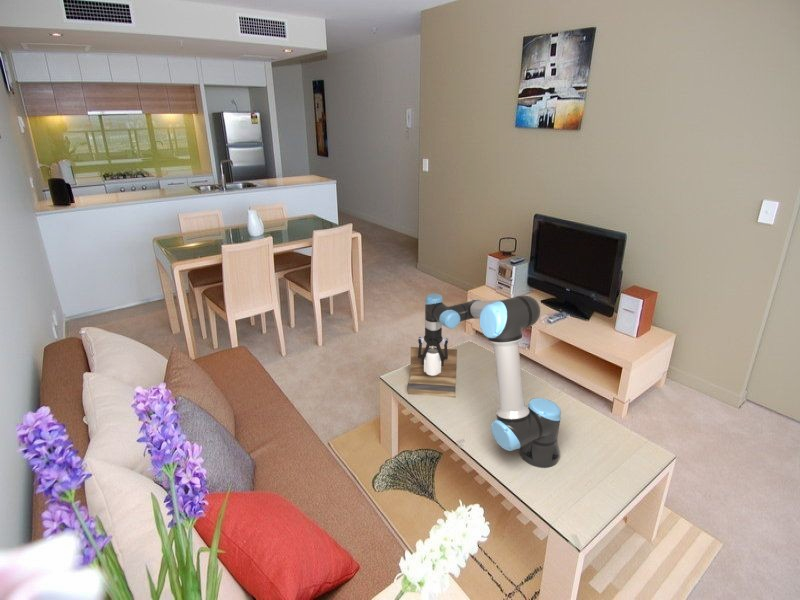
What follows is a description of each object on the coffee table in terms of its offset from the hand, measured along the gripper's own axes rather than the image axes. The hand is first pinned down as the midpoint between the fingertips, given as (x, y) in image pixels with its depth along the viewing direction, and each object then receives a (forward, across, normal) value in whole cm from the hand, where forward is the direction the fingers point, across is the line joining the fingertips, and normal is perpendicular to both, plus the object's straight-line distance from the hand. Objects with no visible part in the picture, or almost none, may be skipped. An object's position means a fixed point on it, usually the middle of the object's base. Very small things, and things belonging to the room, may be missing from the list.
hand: (432, 370), depth 217 cm
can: (+1, 0, 0) cm, 1 cm away
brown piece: (+10, 0, 0) cm, 10 cm away
